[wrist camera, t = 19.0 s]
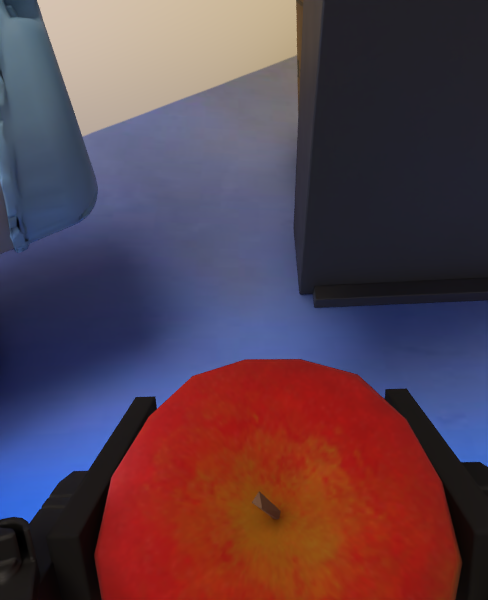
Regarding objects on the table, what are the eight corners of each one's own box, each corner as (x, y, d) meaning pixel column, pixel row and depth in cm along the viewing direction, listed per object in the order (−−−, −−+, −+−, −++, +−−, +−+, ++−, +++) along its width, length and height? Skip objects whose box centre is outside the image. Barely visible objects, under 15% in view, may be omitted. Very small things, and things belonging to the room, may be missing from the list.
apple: (211, 704, 14) (50, 1101, 4) (152, 469, 19) (-1, 384, 8) (423, 597, 15) (695, 705, 5) (321, 398, 20) (365, 247, 10)
